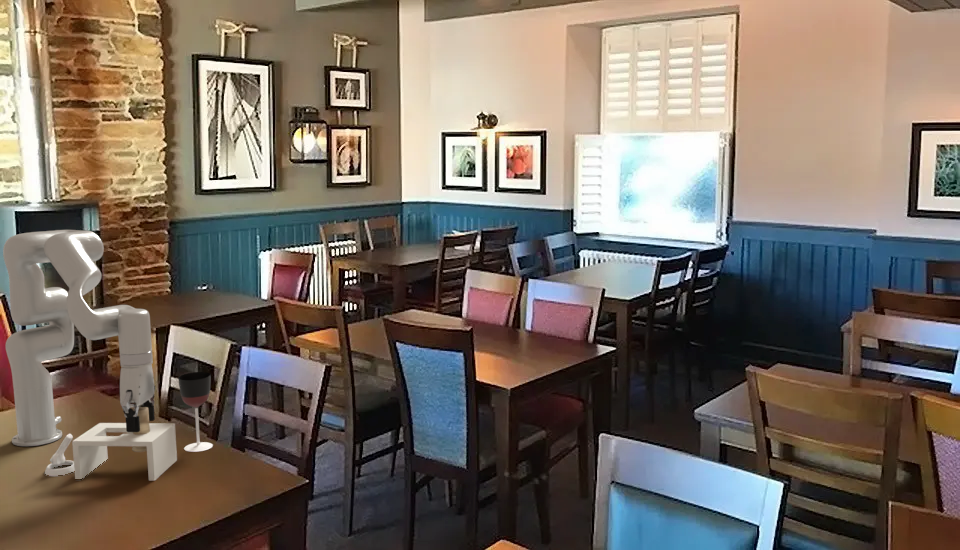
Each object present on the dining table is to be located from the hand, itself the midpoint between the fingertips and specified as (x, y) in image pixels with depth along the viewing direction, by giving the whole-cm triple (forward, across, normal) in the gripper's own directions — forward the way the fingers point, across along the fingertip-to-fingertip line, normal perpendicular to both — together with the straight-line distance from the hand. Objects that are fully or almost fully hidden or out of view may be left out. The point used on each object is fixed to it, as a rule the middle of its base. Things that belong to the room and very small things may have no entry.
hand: (140, 425), depth 213 cm
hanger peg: (+6, 0, 0) cm, 6 cm away
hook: (+12, +1, -21) cm, 24 cm away
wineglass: (+12, -17, +8) cm, 22 cm away
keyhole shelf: (+12, 0, -4) cm, 12 cm away
